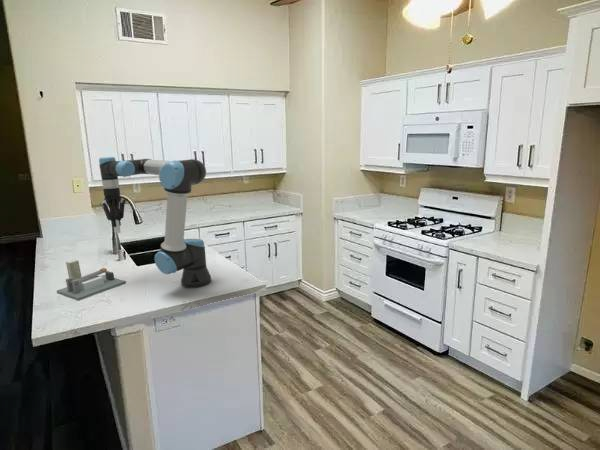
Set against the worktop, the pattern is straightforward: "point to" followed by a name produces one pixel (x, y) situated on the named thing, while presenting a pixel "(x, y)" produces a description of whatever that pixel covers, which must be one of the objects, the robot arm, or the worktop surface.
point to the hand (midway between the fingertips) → (117, 232)
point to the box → (73, 269)
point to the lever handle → (92, 275)
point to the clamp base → (93, 291)
